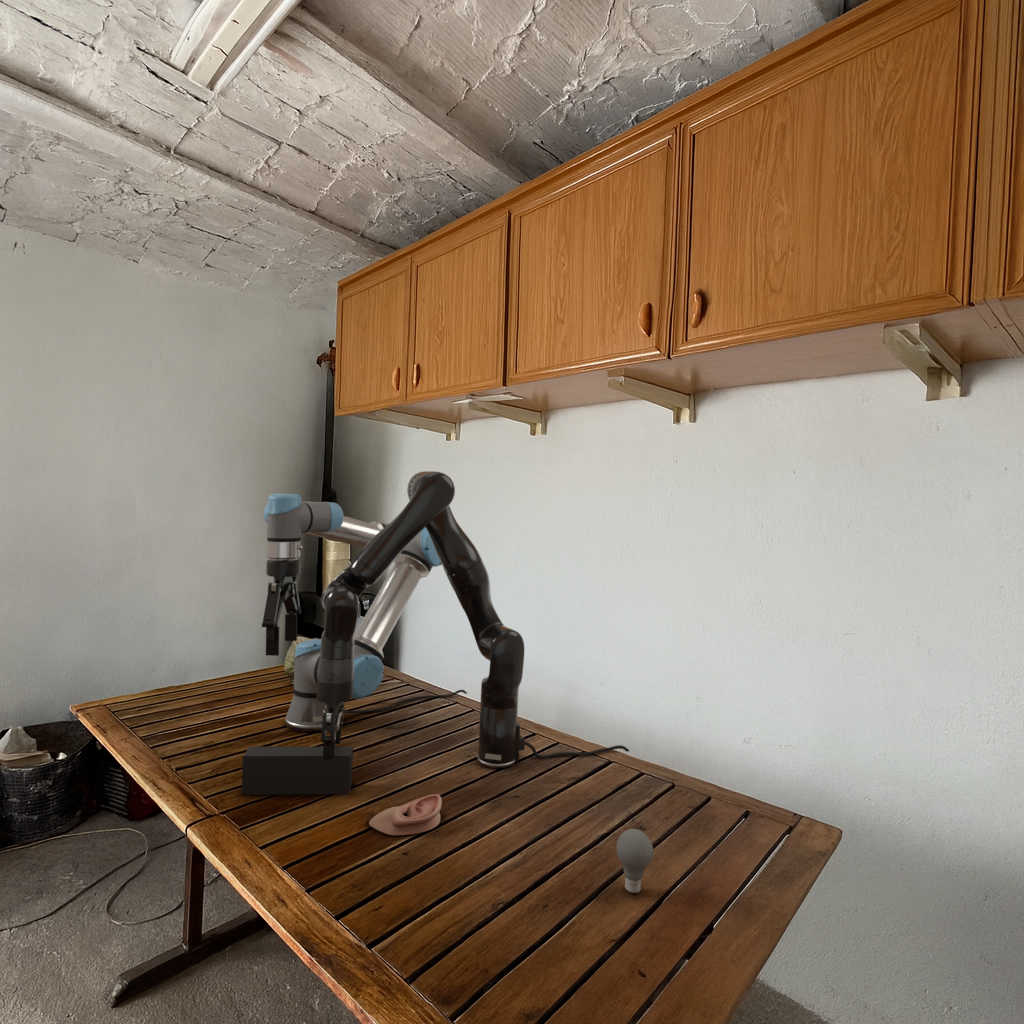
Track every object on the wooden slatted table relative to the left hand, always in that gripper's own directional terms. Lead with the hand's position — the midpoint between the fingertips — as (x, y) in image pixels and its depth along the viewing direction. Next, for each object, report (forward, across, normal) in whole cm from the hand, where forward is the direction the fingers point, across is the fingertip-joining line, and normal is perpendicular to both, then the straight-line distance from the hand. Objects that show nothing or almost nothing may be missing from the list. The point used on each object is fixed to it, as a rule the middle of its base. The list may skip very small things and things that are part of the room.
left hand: (281, 647), depth 151 cm
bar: (+27, -15, -9) cm, 32 cm away
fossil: (+28, +64, +10) cm, 70 cm away
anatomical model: (+27, -28, -34) cm, 52 cm away
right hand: (+18, -15, -16) cm, 29 cm away
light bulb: (+27, -49, -74) cm, 93 cm away
